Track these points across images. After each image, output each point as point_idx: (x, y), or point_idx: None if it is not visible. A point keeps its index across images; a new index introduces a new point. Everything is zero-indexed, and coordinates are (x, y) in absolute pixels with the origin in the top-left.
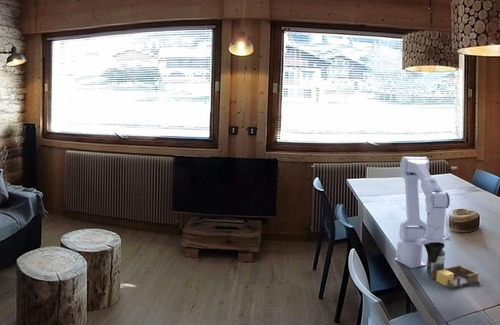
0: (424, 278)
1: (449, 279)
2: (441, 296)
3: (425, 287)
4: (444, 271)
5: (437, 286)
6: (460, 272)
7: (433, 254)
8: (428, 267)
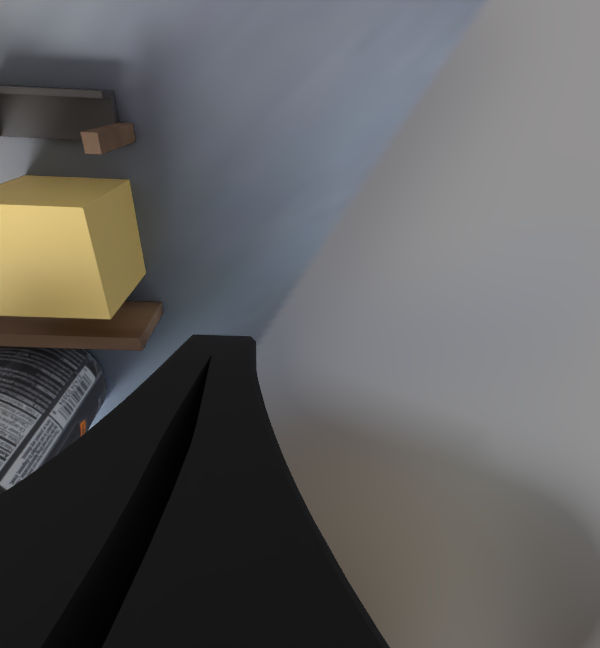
0: (207, 333)
1: (51, 189)
2: (340, 20)
3: (323, 227)
4: (34, 283)
5: (210, 197)
6: None
7: (284, 460)
8: (93, 411)
